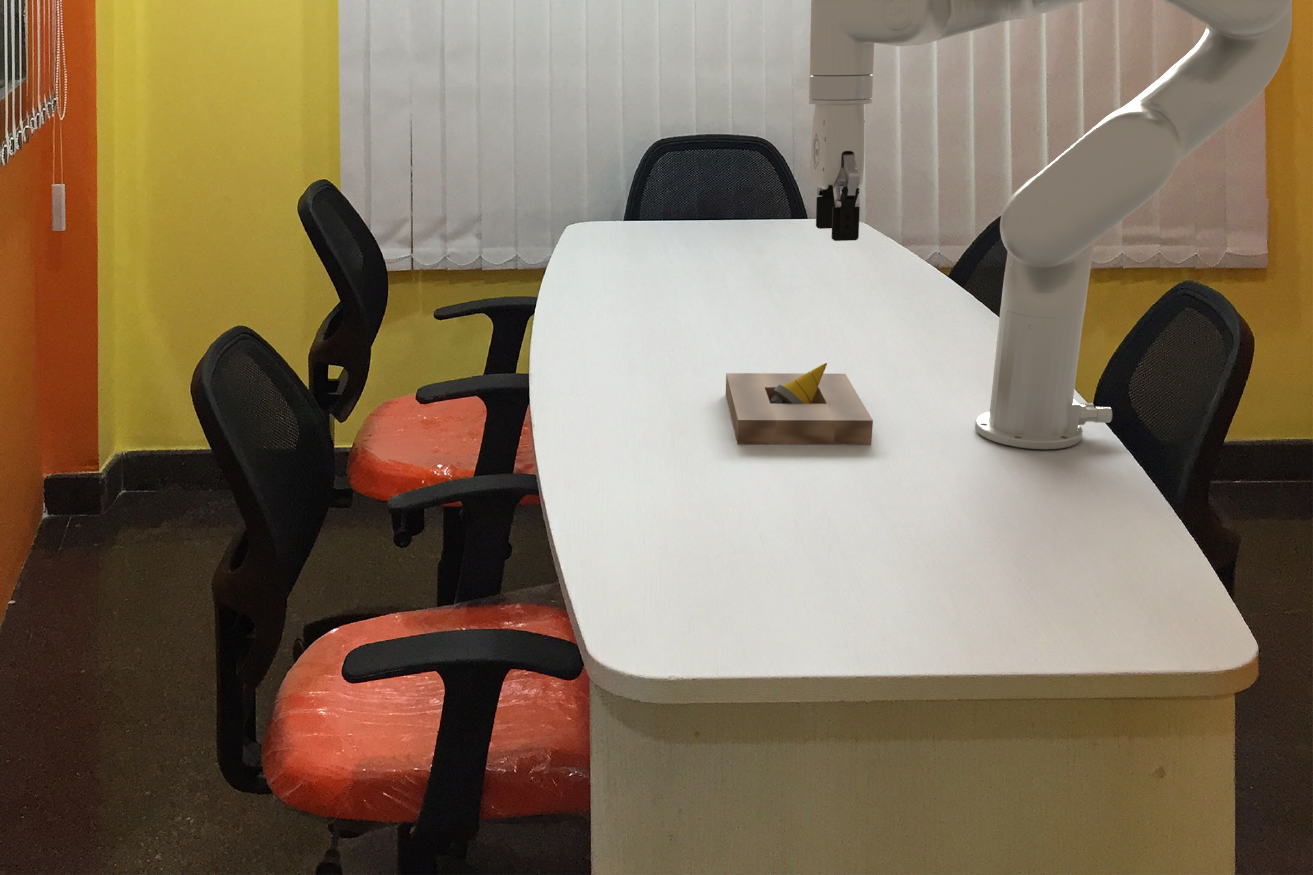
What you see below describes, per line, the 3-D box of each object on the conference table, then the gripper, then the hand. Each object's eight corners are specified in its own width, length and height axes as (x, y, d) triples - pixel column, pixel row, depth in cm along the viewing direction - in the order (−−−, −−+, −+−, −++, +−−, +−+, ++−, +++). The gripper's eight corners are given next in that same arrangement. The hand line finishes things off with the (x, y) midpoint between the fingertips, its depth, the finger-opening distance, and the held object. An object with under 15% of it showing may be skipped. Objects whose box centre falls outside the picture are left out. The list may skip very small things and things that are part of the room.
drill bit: (763, 415, 155) (814, 358, 156) (793, 440, 153) (845, 382, 153) (754, 401, 150) (807, 342, 151) (786, 426, 148) (839, 367, 149)
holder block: (843, 395, 162) (845, 373, 161) (871, 444, 143) (873, 420, 142) (725, 394, 162) (726, 373, 161) (737, 443, 143) (738, 420, 142)
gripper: (796, 89, 152) (794, 224, 157) (824, 95, 136) (820, 246, 141) (855, 87, 152) (851, 223, 158) (889, 93, 136) (883, 244, 142)
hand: (836, 234), depth 150 cm, fingers open, 9 cm apart
